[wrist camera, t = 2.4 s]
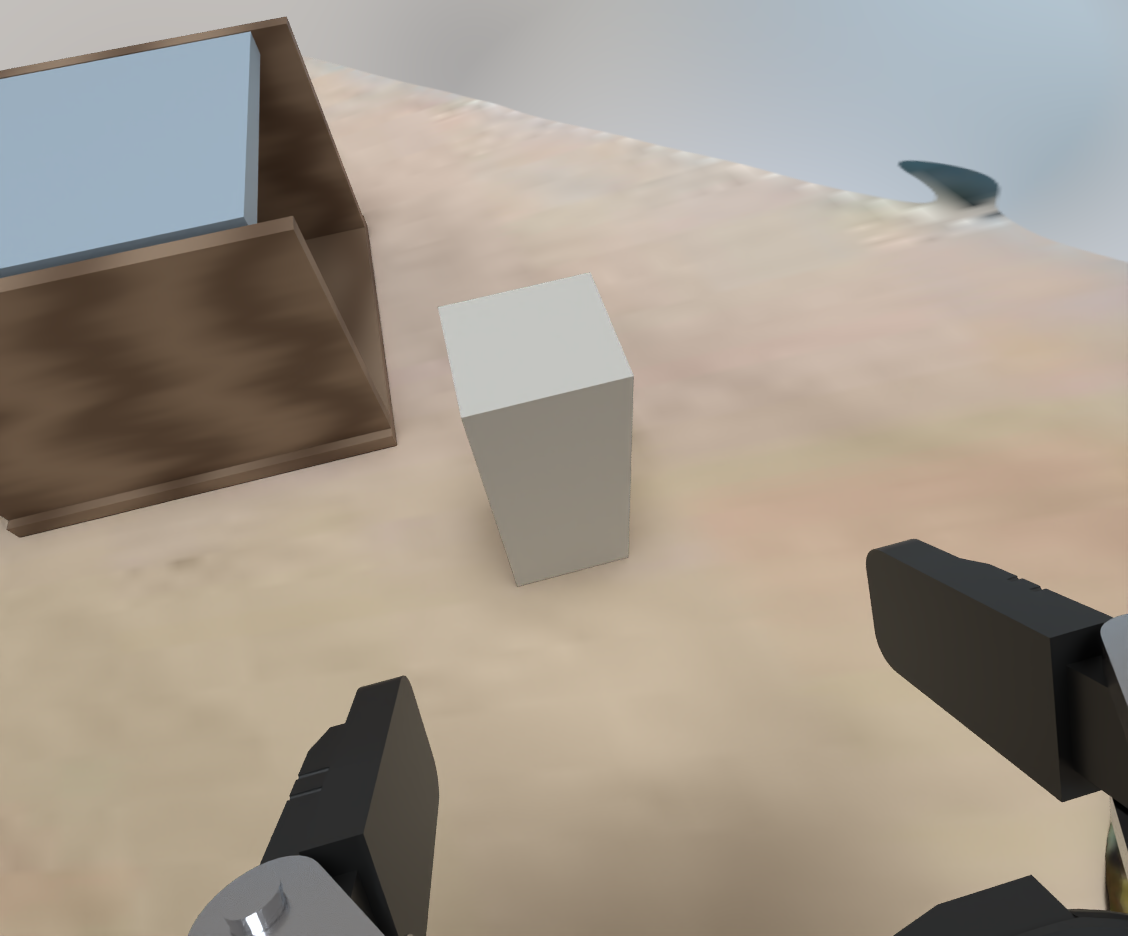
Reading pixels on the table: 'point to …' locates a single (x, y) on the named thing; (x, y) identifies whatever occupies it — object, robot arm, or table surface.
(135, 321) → the trapdoor stand
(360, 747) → the robot arm
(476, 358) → the grey stone pillar
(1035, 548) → the table surface
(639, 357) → the table surface
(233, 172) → the trapdoor
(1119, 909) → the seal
